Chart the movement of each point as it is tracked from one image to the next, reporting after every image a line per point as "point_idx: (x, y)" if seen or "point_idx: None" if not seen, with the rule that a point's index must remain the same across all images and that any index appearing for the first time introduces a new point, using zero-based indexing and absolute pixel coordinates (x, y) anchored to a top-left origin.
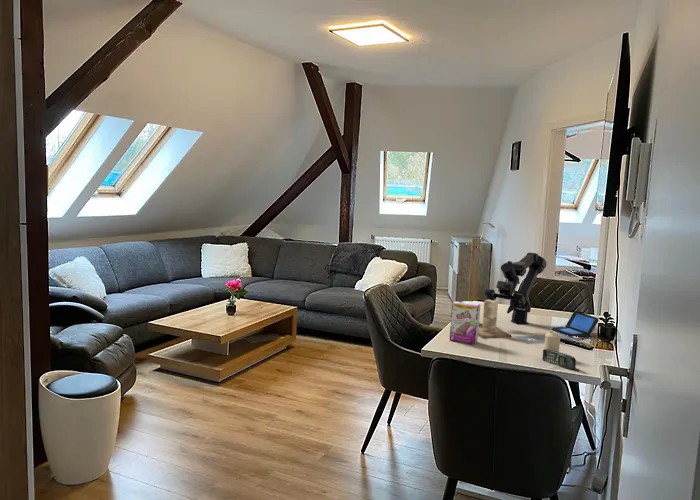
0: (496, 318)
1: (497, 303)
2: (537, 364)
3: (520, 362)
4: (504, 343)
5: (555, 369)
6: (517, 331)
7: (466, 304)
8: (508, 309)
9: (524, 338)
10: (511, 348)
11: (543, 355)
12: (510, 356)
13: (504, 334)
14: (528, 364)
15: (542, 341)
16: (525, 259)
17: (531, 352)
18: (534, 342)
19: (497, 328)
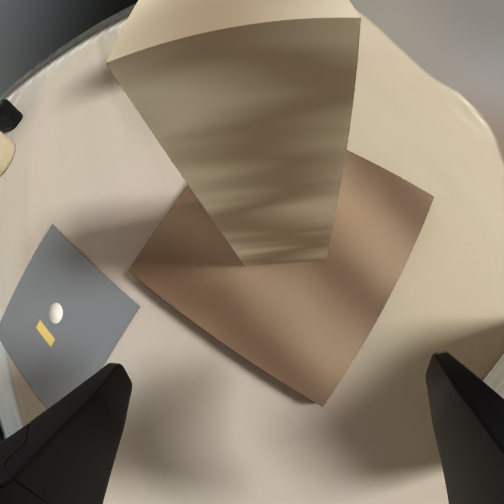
0: (216, 220)
1: (132, 88)
2: (37, 84)
3: (69, 60)
4: (131, 141)
5: (12, 97)
6: (179, 474)
7: None
8: (86, 389)
9: (78, 316)
10: (96, 115)
11: (14, 107)
12: (91, 63)
13: (162, 240)
14: (54, 67)
15: (18, 329)
16: None
17: (40, 142)
18: (34, 277)
19: (284, 372)
